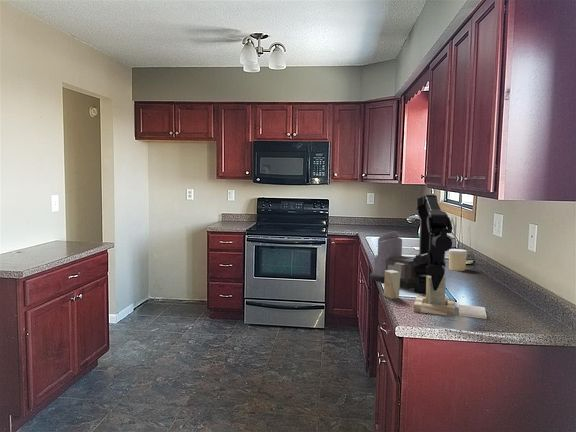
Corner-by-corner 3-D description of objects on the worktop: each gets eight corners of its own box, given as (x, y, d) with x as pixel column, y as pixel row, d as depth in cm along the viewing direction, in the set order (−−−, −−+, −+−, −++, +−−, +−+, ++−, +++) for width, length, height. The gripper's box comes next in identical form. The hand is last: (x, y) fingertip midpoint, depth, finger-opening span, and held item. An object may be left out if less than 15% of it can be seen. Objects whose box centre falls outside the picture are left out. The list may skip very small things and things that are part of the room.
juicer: (361, 278, 220) (363, 229, 218) (387, 275, 227) (388, 228, 226) (403, 292, 193) (405, 235, 192) (430, 288, 201) (432, 234, 199)
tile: (458, 307, 170) (458, 304, 170) (484, 309, 167) (484, 307, 167) (458, 315, 159) (459, 313, 159) (486, 318, 156) (486, 316, 156)
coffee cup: (458, 270, 245) (459, 248, 244) (470, 273, 236) (471, 251, 235) (444, 271, 242) (444, 249, 241) (455, 274, 233) (456, 251, 233)
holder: (416, 302, 176) (417, 295, 176) (454, 306, 171) (454, 299, 171) (413, 311, 163) (413, 304, 163) (454, 316, 158) (454, 309, 158)
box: (383, 296, 184) (384, 270, 183) (391, 295, 186) (392, 269, 185) (391, 299, 179) (391, 272, 179) (399, 298, 181) (400, 271, 180)
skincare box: (441, 307, 169) (443, 275, 168) (445, 310, 165) (446, 278, 164) (424, 306, 170) (425, 275, 169) (427, 310, 165) (428, 277, 165)
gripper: (416, 243, 177) (415, 281, 178) (412, 249, 160) (410, 292, 161) (446, 244, 173) (444, 284, 174) (445, 251, 156) (443, 295, 157)
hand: (435, 288), depth 167 cm, fingers open, 5 cm apart
